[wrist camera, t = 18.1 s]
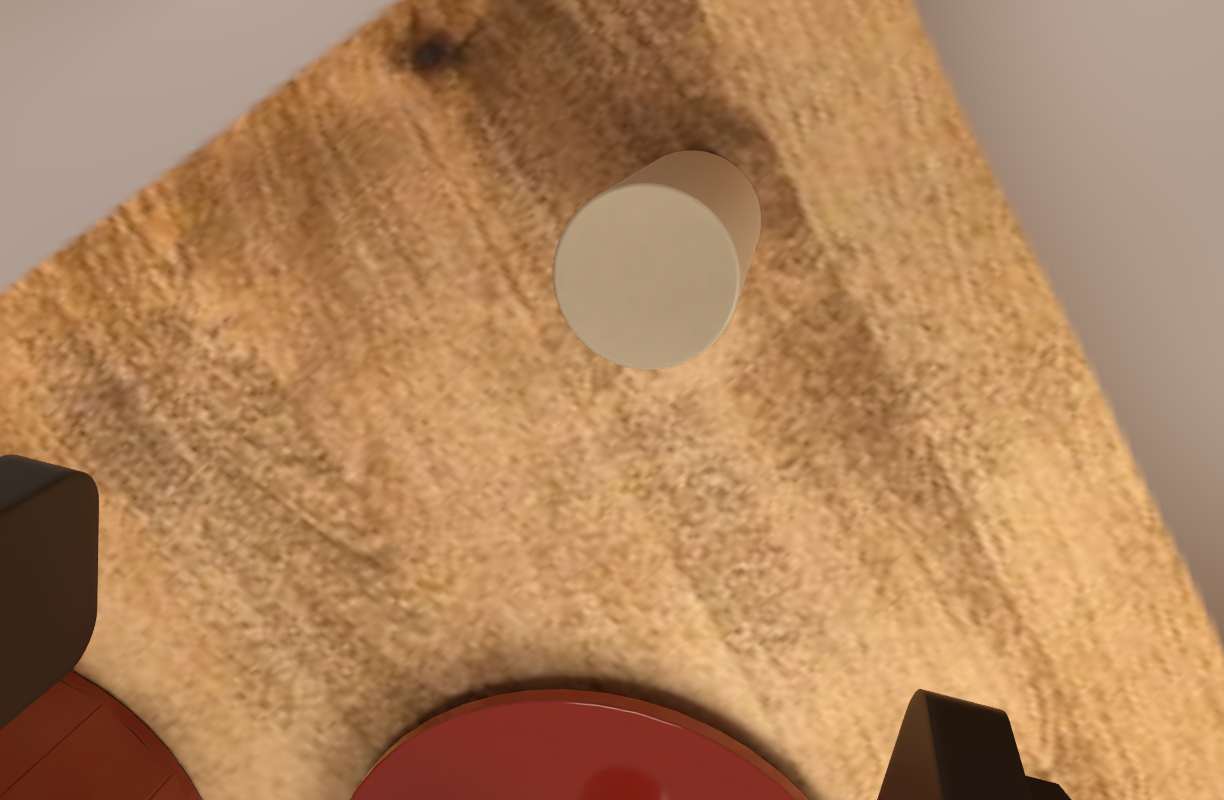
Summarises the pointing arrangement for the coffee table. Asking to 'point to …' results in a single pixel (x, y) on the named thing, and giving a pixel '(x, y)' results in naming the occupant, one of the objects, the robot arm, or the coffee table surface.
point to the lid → (570, 754)
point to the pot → (86, 751)
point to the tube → (658, 260)
